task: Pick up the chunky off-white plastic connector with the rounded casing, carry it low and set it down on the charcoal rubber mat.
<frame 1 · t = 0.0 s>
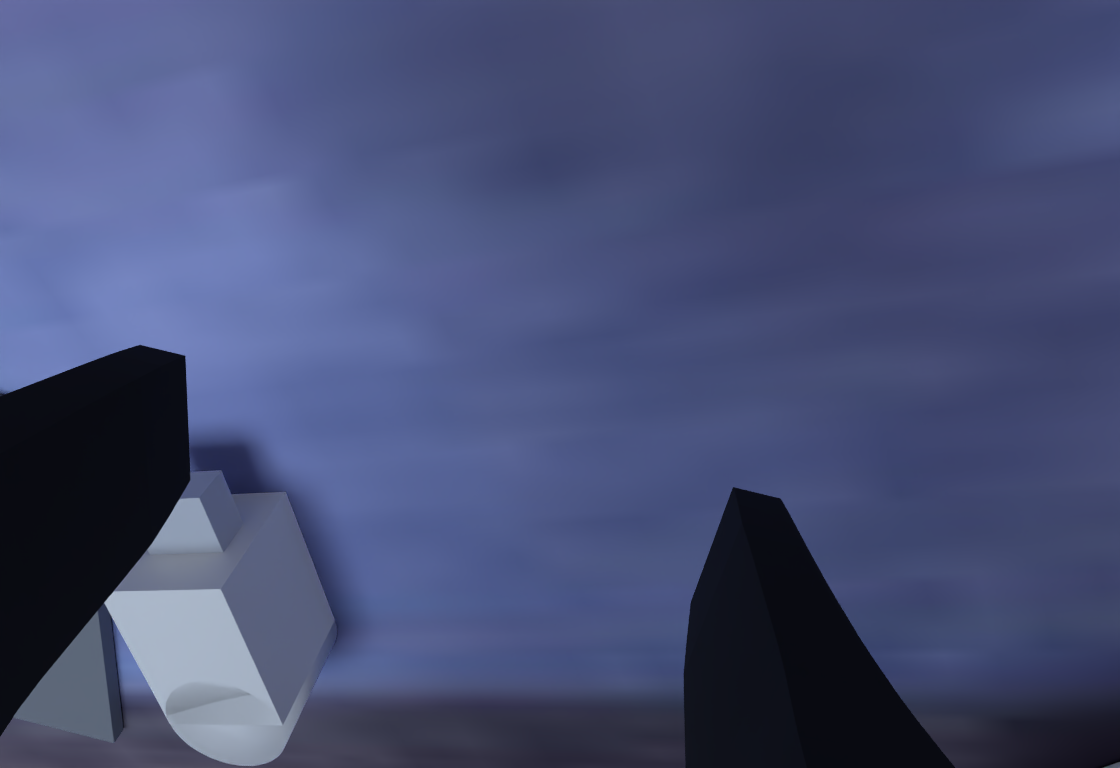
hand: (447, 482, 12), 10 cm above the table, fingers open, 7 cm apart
connector: (258, 560, 27), on the table
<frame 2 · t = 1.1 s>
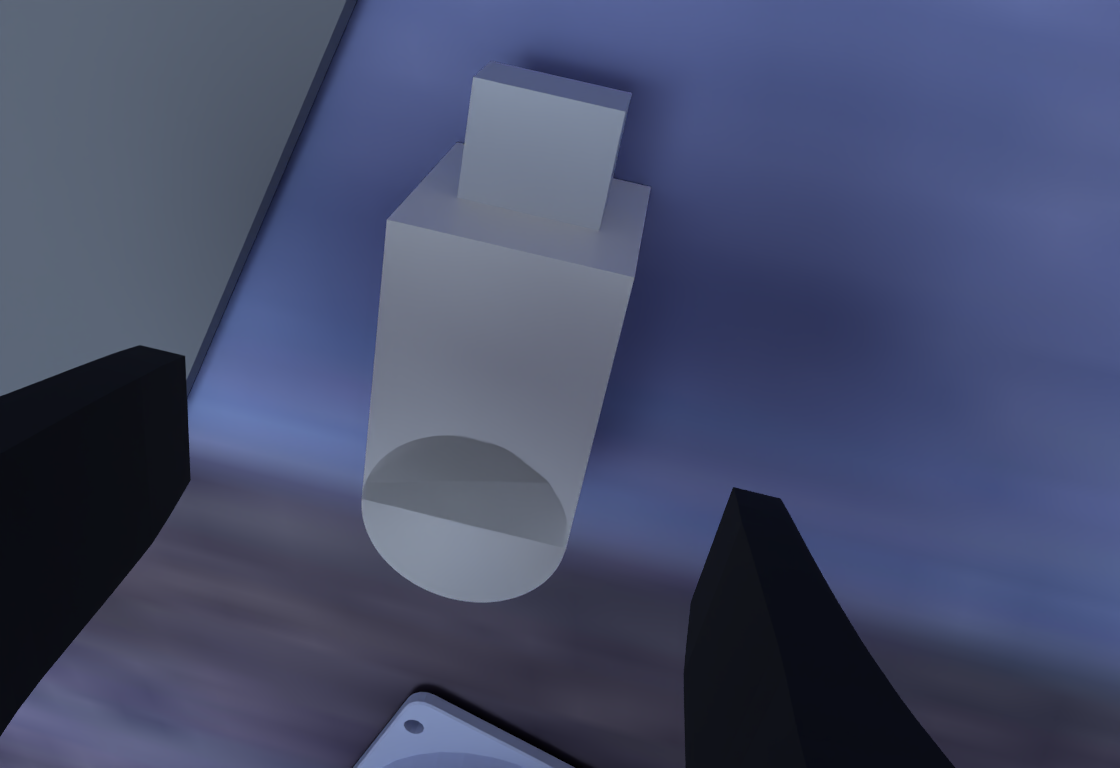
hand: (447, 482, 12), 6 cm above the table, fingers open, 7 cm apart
connector: (530, 291, 17), on the table
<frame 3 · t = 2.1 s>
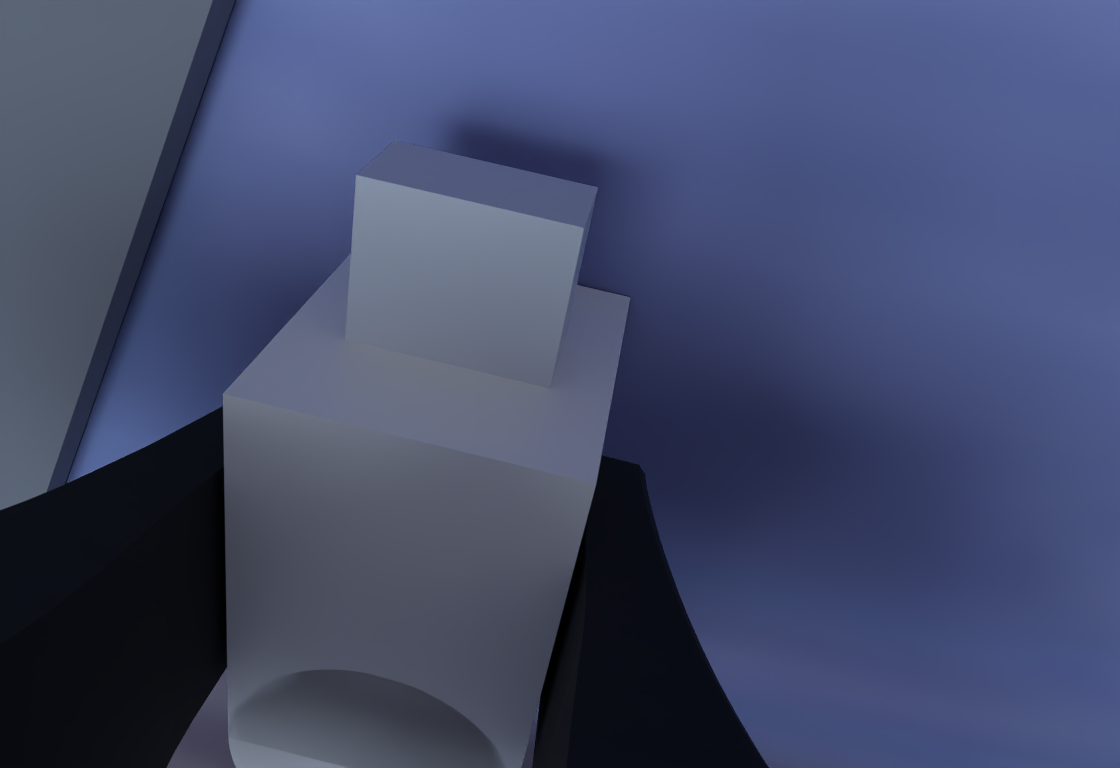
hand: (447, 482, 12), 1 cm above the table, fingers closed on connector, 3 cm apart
connector: (472, 423, 13), on the table, touching gripper
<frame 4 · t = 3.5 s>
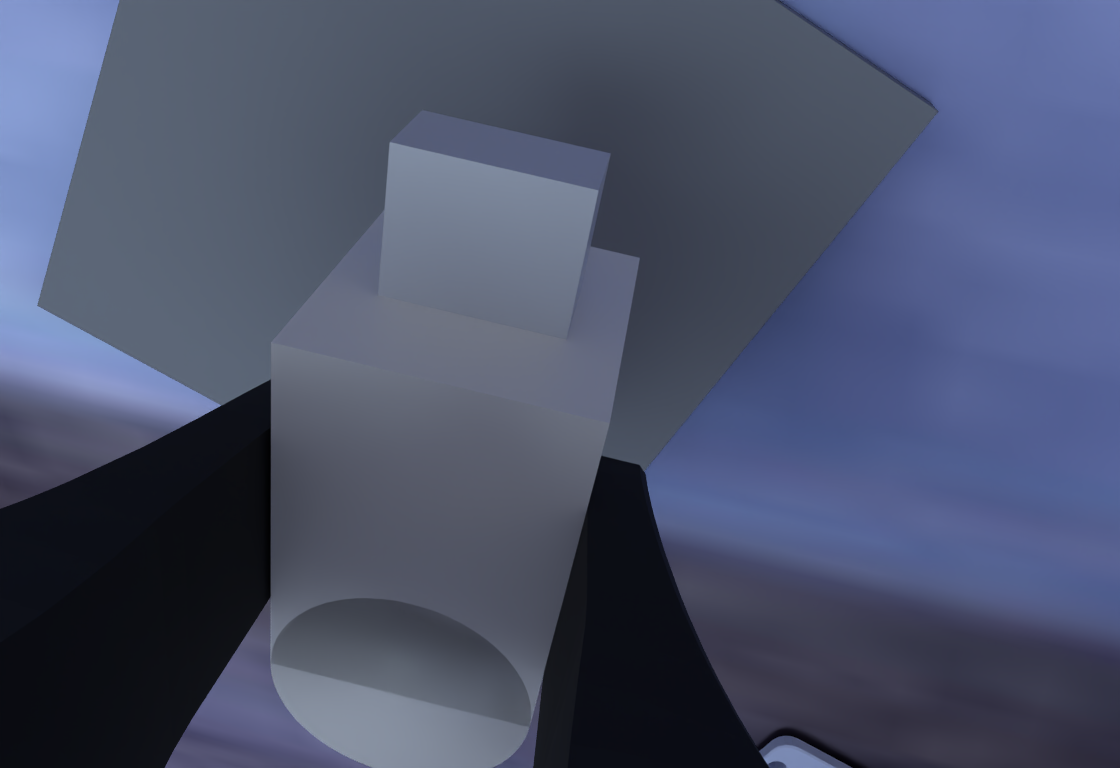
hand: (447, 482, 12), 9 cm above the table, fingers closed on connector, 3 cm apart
mat: (434, 212, 19), on the table
connector: (490, 378, 14), point 6 cm above the table, touching gripper
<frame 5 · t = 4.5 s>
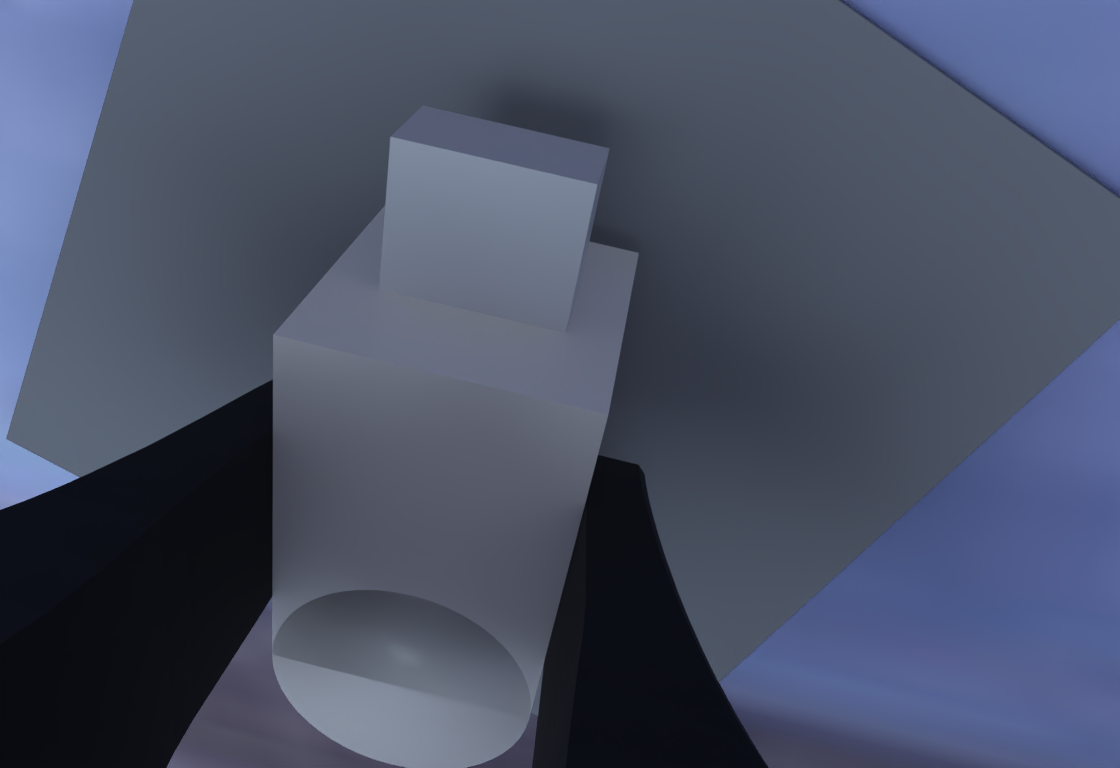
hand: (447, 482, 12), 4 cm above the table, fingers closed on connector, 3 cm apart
mat: (507, 343, 15), on the table
connector: (491, 372, 14), point 1 cm above the table, touching gripper
when the fingers open (4 cm above the table, at t = 5.0 s): connector stays where it is, resting on mat.
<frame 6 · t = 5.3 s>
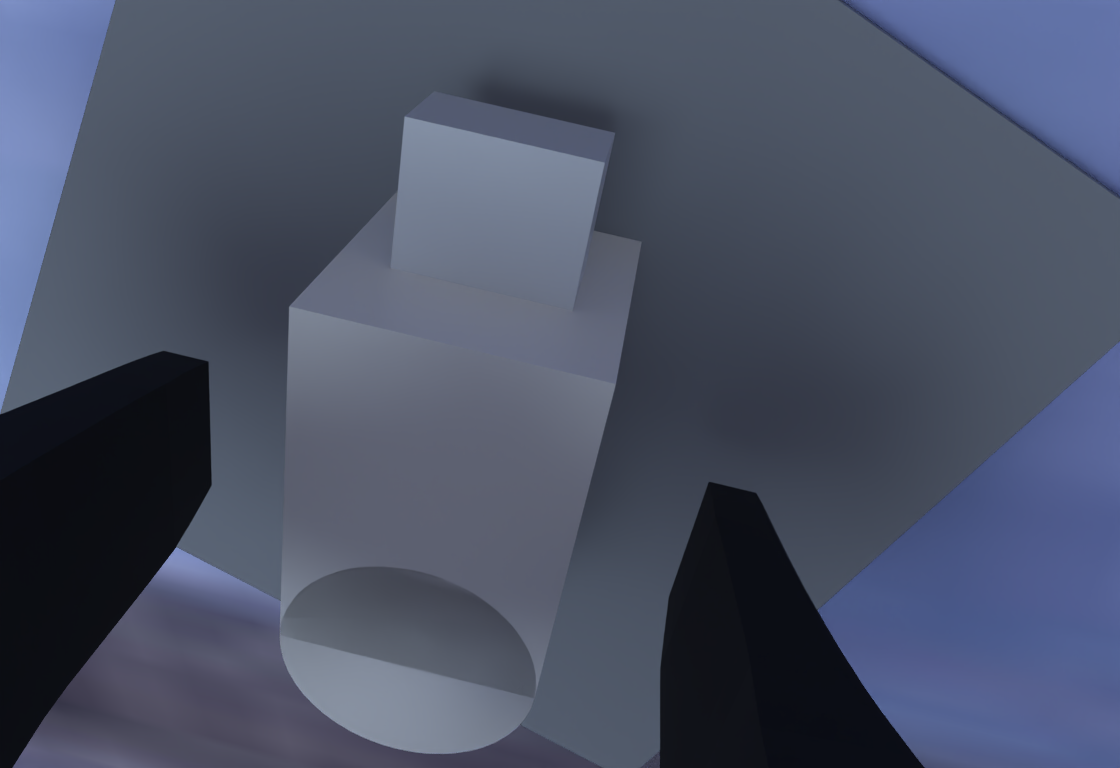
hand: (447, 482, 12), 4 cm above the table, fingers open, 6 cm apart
mat: (501, 354, 15), on the table
connector: (495, 362, 14), point 1 cm above the table, touching mat
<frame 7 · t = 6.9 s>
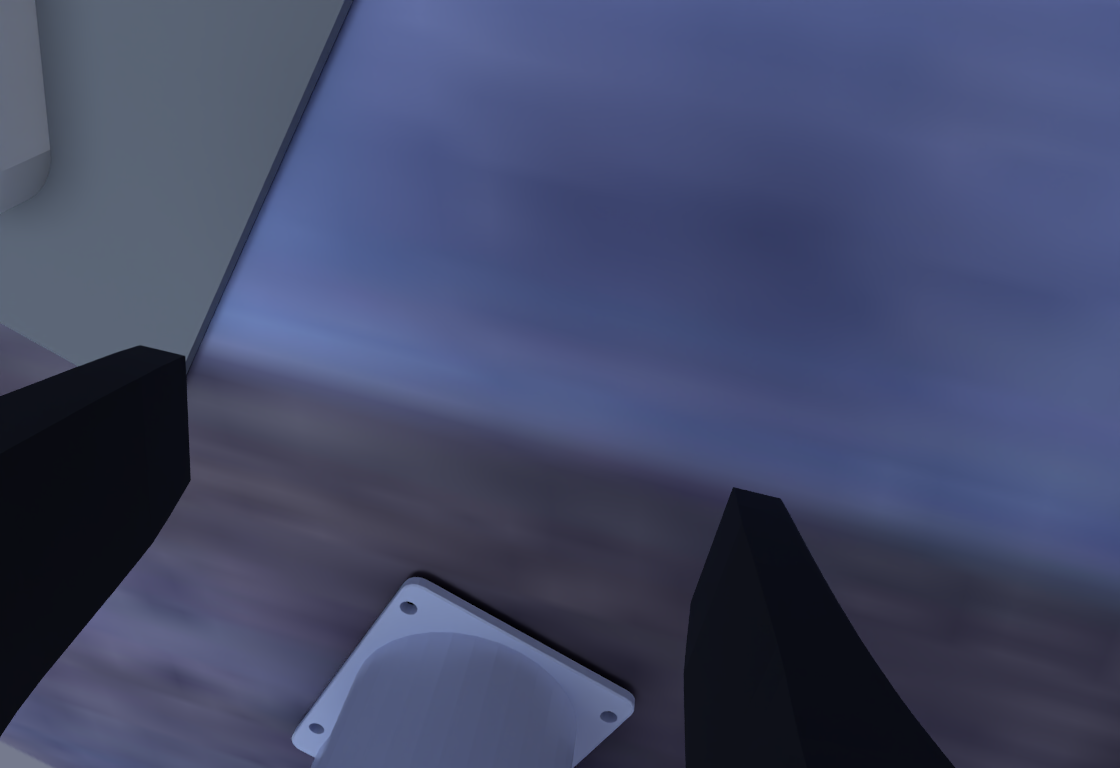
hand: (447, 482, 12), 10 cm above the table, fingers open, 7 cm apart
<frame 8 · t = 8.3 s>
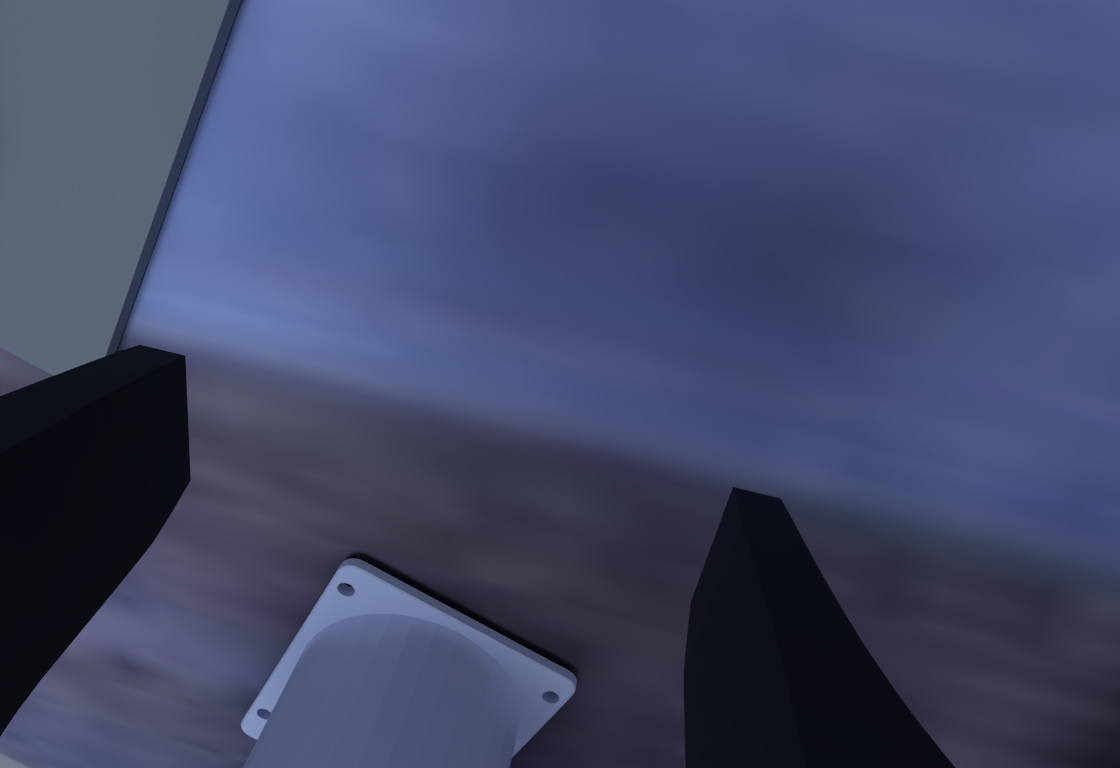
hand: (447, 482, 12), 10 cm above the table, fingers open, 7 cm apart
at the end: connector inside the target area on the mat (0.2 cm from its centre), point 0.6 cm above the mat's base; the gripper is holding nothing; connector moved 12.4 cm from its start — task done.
